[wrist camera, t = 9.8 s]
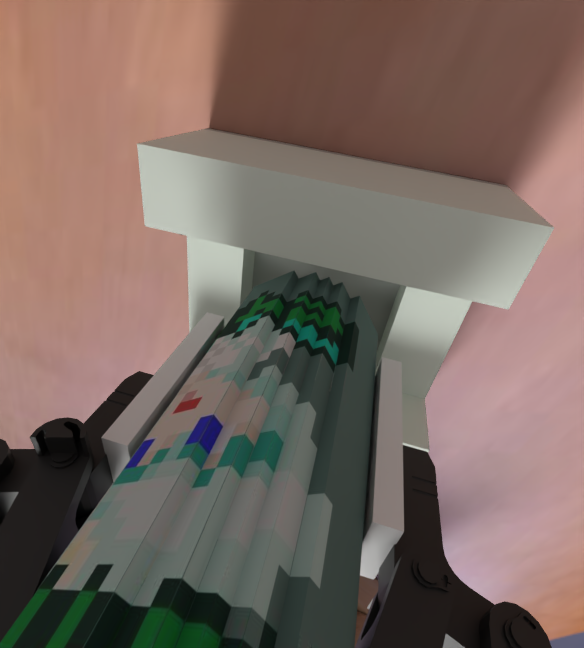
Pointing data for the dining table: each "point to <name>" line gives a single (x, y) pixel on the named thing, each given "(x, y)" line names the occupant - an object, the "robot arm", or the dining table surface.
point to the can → (234, 495)
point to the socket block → (343, 239)
